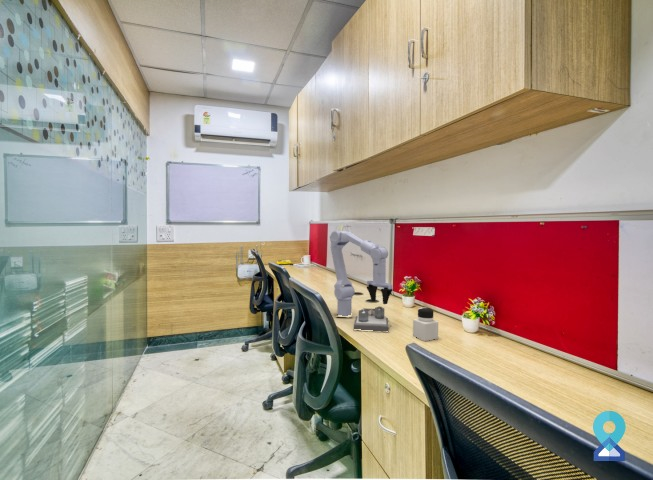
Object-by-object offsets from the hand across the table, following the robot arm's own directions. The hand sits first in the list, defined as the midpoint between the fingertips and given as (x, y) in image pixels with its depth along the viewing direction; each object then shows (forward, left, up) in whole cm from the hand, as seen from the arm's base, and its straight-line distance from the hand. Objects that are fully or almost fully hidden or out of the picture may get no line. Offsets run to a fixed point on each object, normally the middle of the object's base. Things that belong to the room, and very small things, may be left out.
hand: (379, 302), depth 146 cm
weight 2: (0, 0, -7) cm, 7 cm away
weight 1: (+6, -7, -7) cm, 12 cm away
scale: (+3, -4, -10) cm, 12 cm away
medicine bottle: (+15, +18, -11) cm, 26 cm away
